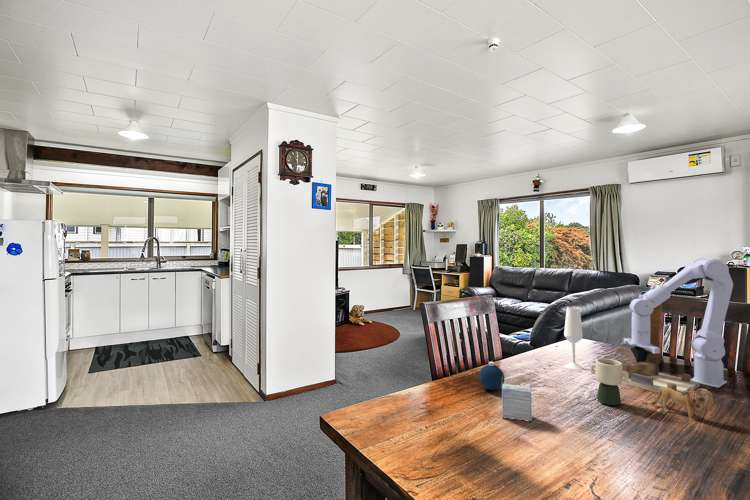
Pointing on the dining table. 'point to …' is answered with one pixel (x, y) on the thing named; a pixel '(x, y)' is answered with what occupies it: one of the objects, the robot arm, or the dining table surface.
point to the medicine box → (516, 402)
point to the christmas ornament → (491, 376)
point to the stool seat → (662, 382)
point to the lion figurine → (686, 400)
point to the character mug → (609, 380)
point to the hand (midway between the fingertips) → (640, 367)
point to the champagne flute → (573, 332)
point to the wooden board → (641, 368)
